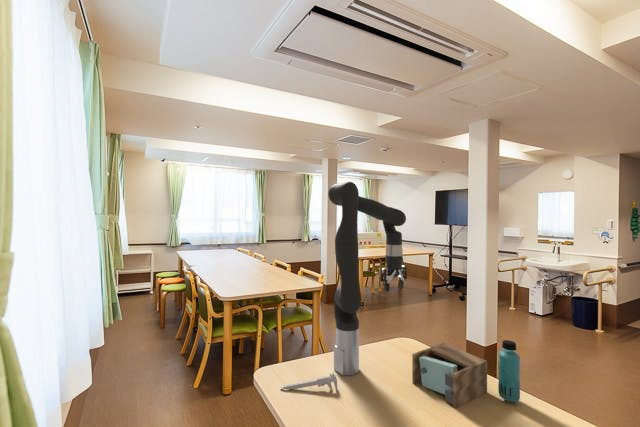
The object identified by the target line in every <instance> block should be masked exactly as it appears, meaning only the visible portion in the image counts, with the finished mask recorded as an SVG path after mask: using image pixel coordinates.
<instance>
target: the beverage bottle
mask: <svg viewBox="0 0 640 427" xmlns="http://www.w3.org/2000/svg"><path fill="white" fill-rule="evenodd" d="M501 347H502V350H500V351H498V359H497V361H498V363H497V364H498V368H497V369H498V383H497V384H498V385H497V386H498V388H497V389H498V395H499V397H500V398H501V399H503V400H506V401H508V402H512V403H513V402H519V401H520V399H521V378H520V376H521V370H520V369H521V368H520V367H521V365H520V363H521V357H520V355H519V354H518V353H517V352H516V351H517V343H516V342H515V341H512V340H509V339H504V340H502V344H501Z"/></svg>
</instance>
